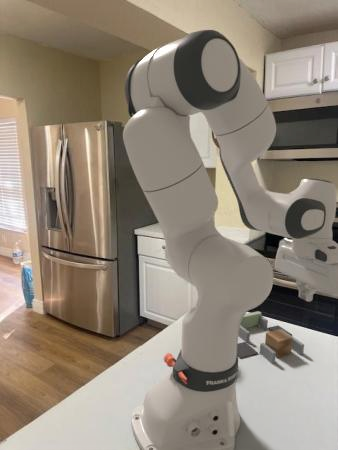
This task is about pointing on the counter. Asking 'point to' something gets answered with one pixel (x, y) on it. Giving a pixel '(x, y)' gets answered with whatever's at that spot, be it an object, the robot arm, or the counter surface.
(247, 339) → the rail lane
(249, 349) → the mats
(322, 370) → the counter surface
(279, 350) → the walnut block
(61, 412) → the counter surface
